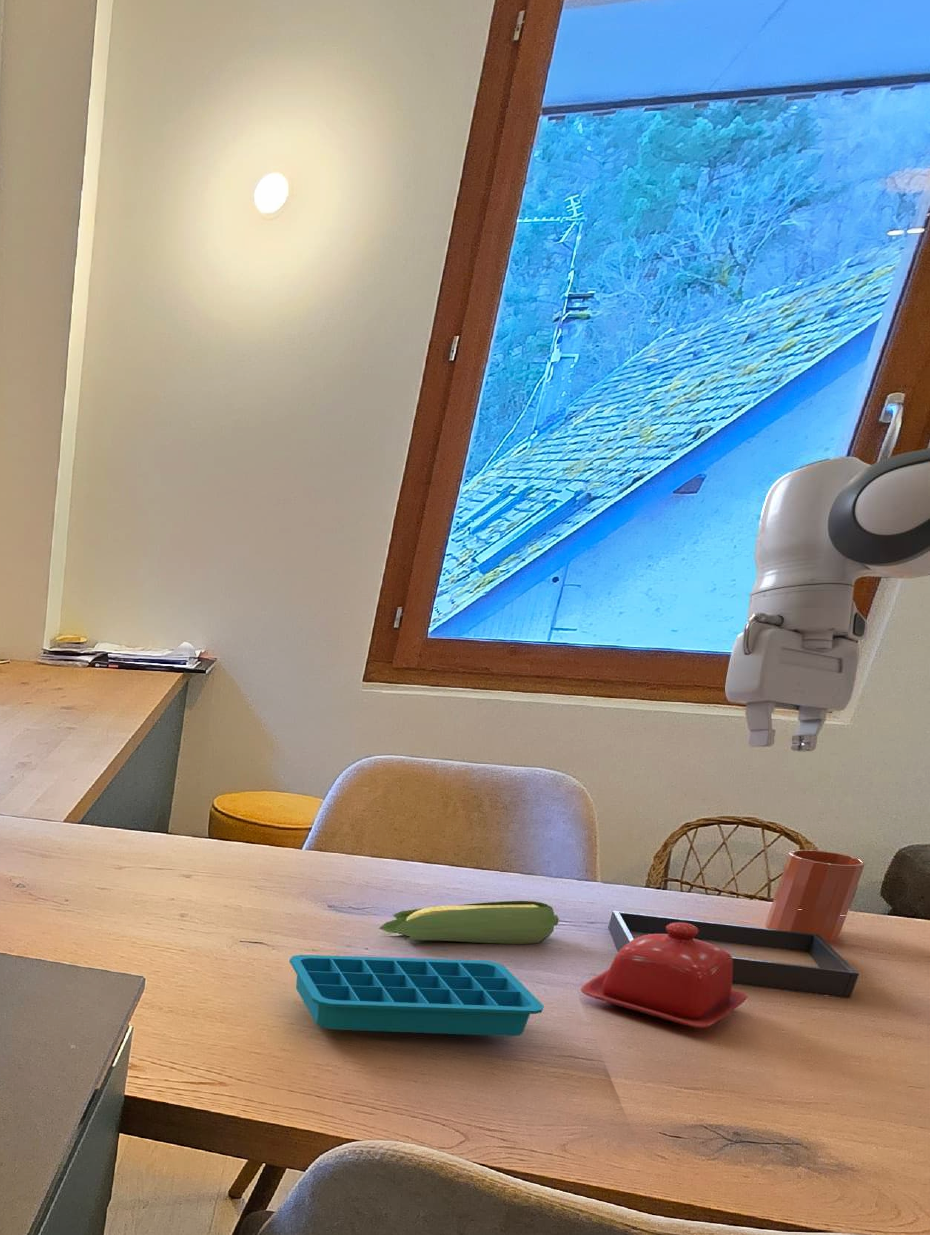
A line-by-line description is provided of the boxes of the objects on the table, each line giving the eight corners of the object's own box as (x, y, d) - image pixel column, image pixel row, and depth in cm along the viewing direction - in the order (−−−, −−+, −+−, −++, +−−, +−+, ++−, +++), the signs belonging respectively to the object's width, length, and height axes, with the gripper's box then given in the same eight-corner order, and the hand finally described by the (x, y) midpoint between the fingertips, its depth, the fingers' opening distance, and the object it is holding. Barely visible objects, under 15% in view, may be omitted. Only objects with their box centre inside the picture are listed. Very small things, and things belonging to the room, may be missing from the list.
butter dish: (570, 1000, 117) (593, 920, 114) (620, 971, 123) (643, 894, 120) (702, 1041, 109) (731, 956, 105) (749, 1007, 115) (778, 926, 111)
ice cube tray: (541, 1040, 107) (549, 1011, 106) (310, 1032, 110) (316, 1003, 109) (492, 988, 118) (499, 960, 117) (282, 981, 120) (287, 954, 119)
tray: (809, 960, 129) (819, 934, 127) (849, 1001, 118) (859, 973, 116) (605, 935, 136) (612, 910, 135) (624, 972, 125) (632, 945, 124)
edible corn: (562, 950, 131) (572, 911, 129) (380, 952, 132) (388, 913, 130) (537, 932, 136) (547, 895, 134) (362, 934, 136) (369, 897, 134)
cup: (824, 938, 135) (854, 853, 132) (842, 956, 130) (874, 868, 126) (755, 930, 138) (782, 847, 134) (770, 947, 132) (799, 861, 128)
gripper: (784, 604, 121) (768, 741, 123) (875, 625, 131) (859, 751, 133) (715, 615, 127) (701, 745, 129) (807, 633, 136) (792, 755, 138)
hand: (782, 749), depth 131 cm, fingers open, 8 cm apart
